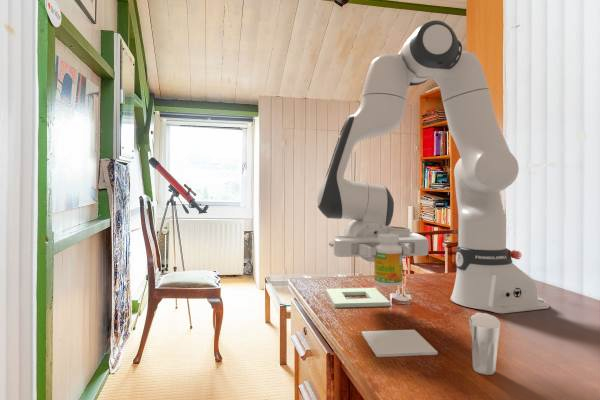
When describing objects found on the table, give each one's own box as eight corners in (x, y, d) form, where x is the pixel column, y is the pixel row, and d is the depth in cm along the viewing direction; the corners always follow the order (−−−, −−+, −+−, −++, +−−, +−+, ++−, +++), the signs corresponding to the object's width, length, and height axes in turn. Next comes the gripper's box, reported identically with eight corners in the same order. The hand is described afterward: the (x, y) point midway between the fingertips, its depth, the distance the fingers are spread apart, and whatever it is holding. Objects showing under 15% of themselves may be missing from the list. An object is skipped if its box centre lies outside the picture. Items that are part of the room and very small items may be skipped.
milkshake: (458, 364, 67) (459, 305, 67) (489, 363, 68) (490, 305, 67) (472, 377, 63) (473, 314, 62) (505, 376, 63) (506, 313, 63)
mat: (414, 331, 82) (414, 329, 82) (437, 354, 71) (437, 351, 71) (361, 333, 81) (361, 331, 81) (376, 357, 70) (376, 354, 70)
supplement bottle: (371, 285, 79) (371, 235, 78) (377, 278, 84) (377, 232, 83) (399, 287, 77) (399, 237, 76) (404, 281, 82) (404, 233, 81)
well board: (374, 291, 114) (374, 287, 114) (390, 306, 100) (390, 302, 100) (325, 292, 112) (325, 288, 112) (334, 307, 98) (334, 303, 98)
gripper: (327, 228, 92) (337, 236, 78) (414, 227, 94) (439, 235, 80) (327, 256, 92) (337, 269, 79) (414, 254, 94) (439, 267, 80)
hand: (389, 252), depth 79 cm, fingers closed on supplement bottle, 5 cm apart
